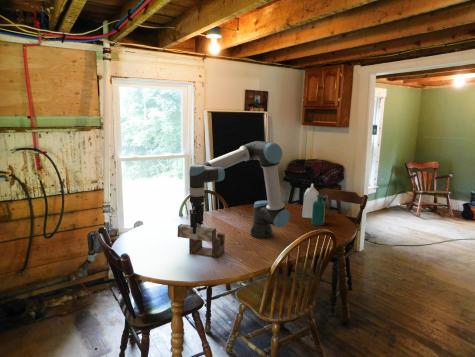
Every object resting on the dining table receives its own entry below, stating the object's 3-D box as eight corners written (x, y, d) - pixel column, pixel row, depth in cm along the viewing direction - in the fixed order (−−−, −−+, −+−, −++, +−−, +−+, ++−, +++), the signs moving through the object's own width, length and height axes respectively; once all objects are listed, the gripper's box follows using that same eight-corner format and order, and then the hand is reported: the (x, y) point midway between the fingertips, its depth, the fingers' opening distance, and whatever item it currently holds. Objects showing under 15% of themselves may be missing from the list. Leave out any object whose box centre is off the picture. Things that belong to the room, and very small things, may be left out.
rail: (216, 239, 176) (216, 228, 174) (213, 242, 172) (213, 231, 171) (181, 234, 181) (181, 223, 180) (177, 237, 178) (177, 226, 176)
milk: (316, 218, 261) (319, 186, 256) (301, 217, 265) (304, 185, 260) (317, 214, 272) (320, 183, 267) (303, 213, 276) (305, 182, 271)
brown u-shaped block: (224, 251, 195) (224, 233, 193) (218, 258, 186) (218, 239, 184) (196, 247, 200) (196, 229, 198) (189, 253, 191) (189, 235, 189)
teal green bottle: (311, 224, 247) (313, 195, 243) (313, 221, 255) (315, 193, 251) (324, 226, 244) (326, 197, 239) (326, 223, 251) (328, 194, 247)
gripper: (197, 190, 181) (197, 231, 186) (182, 198, 165) (183, 242, 170) (209, 191, 179) (209, 233, 184) (196, 199, 163) (196, 244, 167)
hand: (197, 237), depth 177 cm, fingers closed on rail, 4 cm apart
